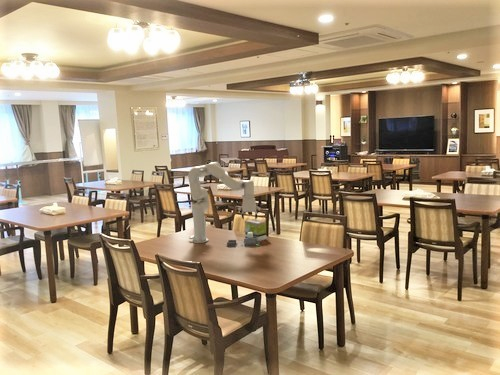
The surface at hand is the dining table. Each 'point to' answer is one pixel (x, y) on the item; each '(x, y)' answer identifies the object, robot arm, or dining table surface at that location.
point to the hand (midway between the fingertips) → (249, 218)
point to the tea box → (256, 229)
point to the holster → (231, 243)
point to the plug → (249, 235)
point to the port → (250, 242)
